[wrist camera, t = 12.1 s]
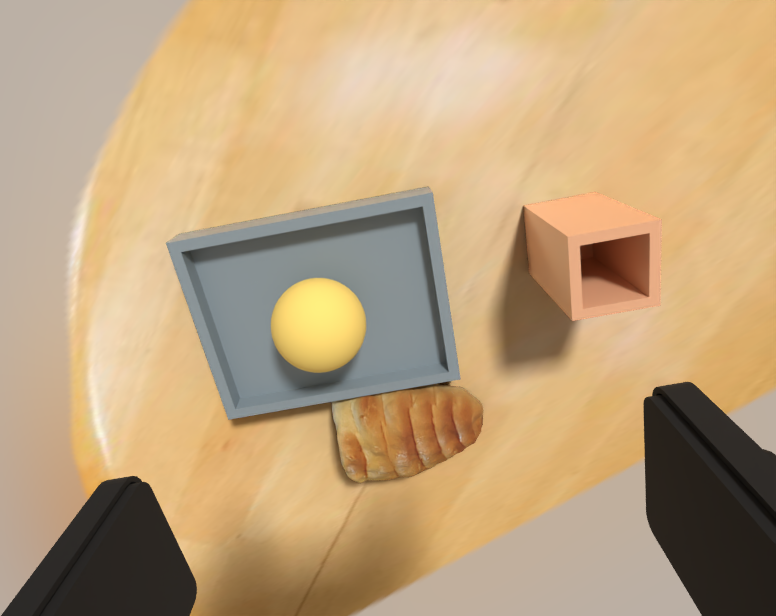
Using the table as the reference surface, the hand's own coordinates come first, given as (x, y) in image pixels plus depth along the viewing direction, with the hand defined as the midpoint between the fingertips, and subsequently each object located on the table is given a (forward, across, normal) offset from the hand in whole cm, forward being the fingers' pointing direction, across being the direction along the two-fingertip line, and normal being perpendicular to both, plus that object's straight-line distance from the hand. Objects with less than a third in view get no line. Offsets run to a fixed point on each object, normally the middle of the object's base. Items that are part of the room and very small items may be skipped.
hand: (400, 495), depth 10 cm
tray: (+21, +5, +3) cm, 21 cm away
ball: (+17, +5, +3) cm, 18 cm away
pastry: (+21, +2, +12) cm, 25 cm away
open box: (+21, -9, +2) cm, 23 cm away
